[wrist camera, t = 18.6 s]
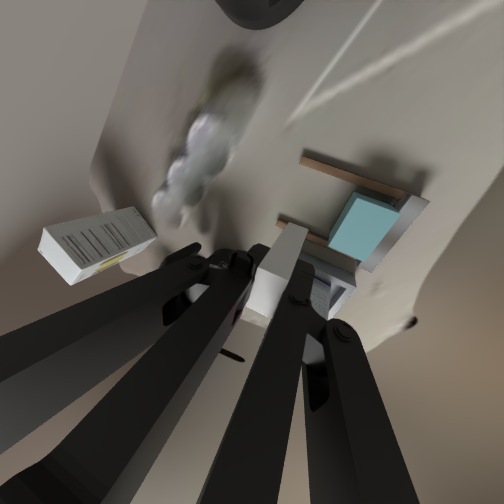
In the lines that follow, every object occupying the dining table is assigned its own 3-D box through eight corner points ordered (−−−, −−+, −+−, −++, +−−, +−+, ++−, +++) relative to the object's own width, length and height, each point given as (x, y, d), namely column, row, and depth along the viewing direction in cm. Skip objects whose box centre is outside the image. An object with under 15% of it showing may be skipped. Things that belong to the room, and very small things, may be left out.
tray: (294, 248, 33) (290, 256, 30) (354, 275, 31) (356, 287, 28) (273, 290, 39) (268, 300, 36) (323, 315, 37) (322, 328, 34)
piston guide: (302, 156, 27) (299, 156, 24) (420, 196, 24) (430, 201, 21) (276, 223, 32) (272, 229, 30) (368, 262, 29) (371, 272, 27)
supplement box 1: (142, 251, 51) (70, 287, 37) (120, 223, 49) (35, 250, 36) (158, 236, 46) (81, 270, 32) (133, 204, 44) (41, 226, 30)
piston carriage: (353, 191, 26) (357, 197, 22) (390, 204, 25) (401, 214, 21) (329, 234, 30) (328, 246, 25) (360, 247, 29) (364, 262, 24)
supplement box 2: (301, 268, 33) (287, 312, 24) (332, 285, 32) (330, 337, 23) (287, 289, 36) (270, 336, 27) (315, 305, 36) (307, 358, 26)
